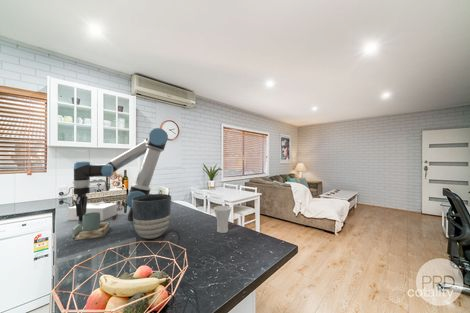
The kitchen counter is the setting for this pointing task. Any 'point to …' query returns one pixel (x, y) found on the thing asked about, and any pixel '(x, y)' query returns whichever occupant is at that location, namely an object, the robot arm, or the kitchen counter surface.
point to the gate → (77, 229)
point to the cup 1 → (91, 221)
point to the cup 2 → (222, 218)
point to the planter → (151, 214)
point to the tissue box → (95, 210)
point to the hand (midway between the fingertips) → (81, 226)
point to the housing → (94, 232)
